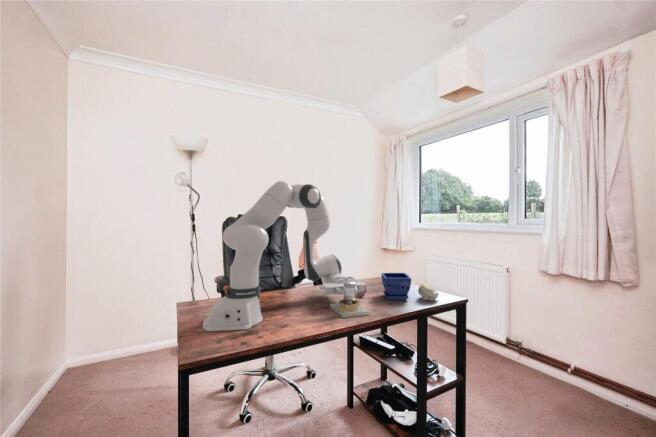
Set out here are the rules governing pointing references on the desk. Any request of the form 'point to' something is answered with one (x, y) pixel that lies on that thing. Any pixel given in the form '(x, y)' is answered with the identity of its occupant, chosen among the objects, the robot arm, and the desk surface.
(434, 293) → the fossil replica
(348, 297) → the salt shaker
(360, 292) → the purple stone
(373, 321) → the desk surface
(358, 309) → the gold ring on slab
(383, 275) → the flower pot
